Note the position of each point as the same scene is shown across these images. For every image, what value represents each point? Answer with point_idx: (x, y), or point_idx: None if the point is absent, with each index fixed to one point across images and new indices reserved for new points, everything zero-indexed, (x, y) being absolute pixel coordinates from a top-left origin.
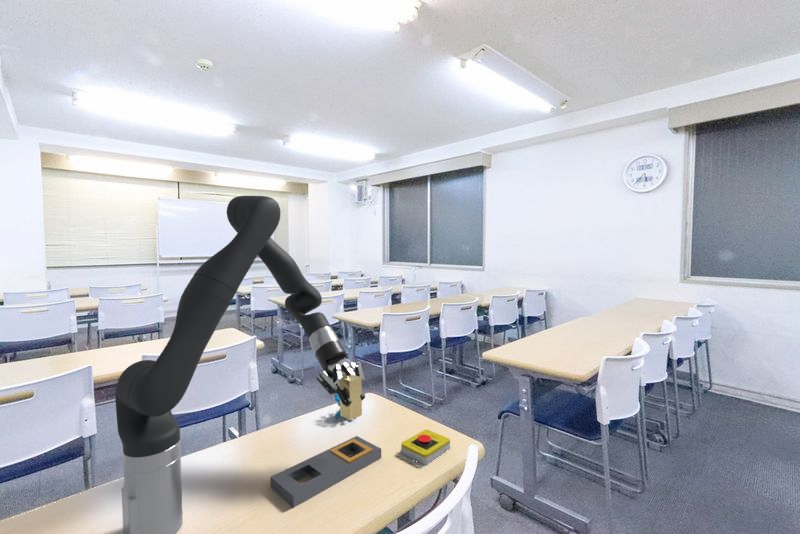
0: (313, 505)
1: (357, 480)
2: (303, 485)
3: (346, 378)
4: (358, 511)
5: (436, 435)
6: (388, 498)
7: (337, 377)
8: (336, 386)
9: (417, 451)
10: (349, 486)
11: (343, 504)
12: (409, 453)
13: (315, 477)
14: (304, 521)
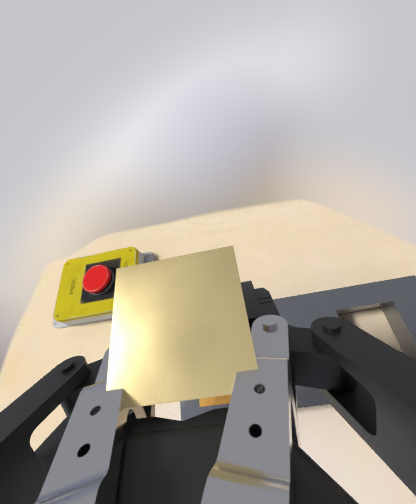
0: (361, 269)
1: (260, 285)
2: (387, 295)
3: (217, 321)
4: (294, 222)
5: (65, 286)
6: (241, 222)
7: (290, 397)
8: (316, 333)
9: (135, 262)
10: (281, 278)
11: (309, 245)
12: None
13: (353, 307)
14: (384, 243)
